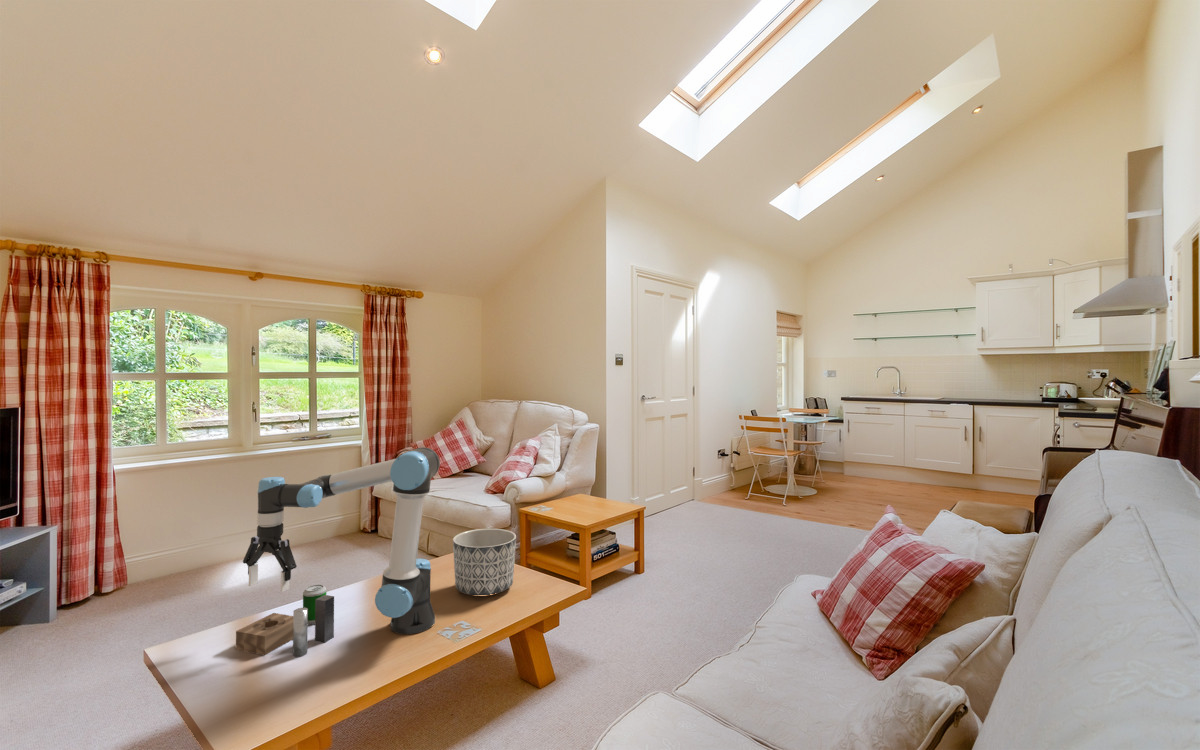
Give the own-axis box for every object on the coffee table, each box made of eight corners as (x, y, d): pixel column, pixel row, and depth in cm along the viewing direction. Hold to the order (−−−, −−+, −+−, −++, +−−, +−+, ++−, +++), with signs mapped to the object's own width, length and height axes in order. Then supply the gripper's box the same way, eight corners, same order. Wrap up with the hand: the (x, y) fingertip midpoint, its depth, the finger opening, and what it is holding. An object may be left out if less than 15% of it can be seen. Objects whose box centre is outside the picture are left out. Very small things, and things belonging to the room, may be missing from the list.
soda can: (316, 626, 189) (316, 592, 189) (297, 624, 190) (298, 590, 190) (330, 617, 196) (331, 584, 196) (313, 615, 198) (313, 582, 198)
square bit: (333, 637, 181) (334, 596, 181) (324, 642, 177) (325, 601, 177) (324, 635, 182) (324, 594, 182) (314, 641, 178) (315, 599, 178)
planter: (466, 576, 237) (467, 527, 238) (523, 579, 234) (523, 529, 234) (441, 600, 212) (442, 545, 212) (504, 604, 208) (505, 548, 208)
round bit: (310, 651, 171) (310, 608, 171) (299, 658, 167) (300, 613, 168) (300, 649, 172) (300, 606, 173) (289, 656, 169) (290, 612, 169)
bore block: (300, 634, 182) (300, 617, 182) (264, 655, 169) (264, 636, 169) (273, 629, 186) (273, 612, 186) (235, 649, 172) (236, 631, 172)
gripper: (309, 524, 178) (307, 588, 178) (251, 517, 185) (250, 578, 185) (290, 530, 170) (288, 596, 170) (231, 523, 177) (229, 586, 177)
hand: (268, 587), depth 177 cm, fingers open, 13 cm apart
